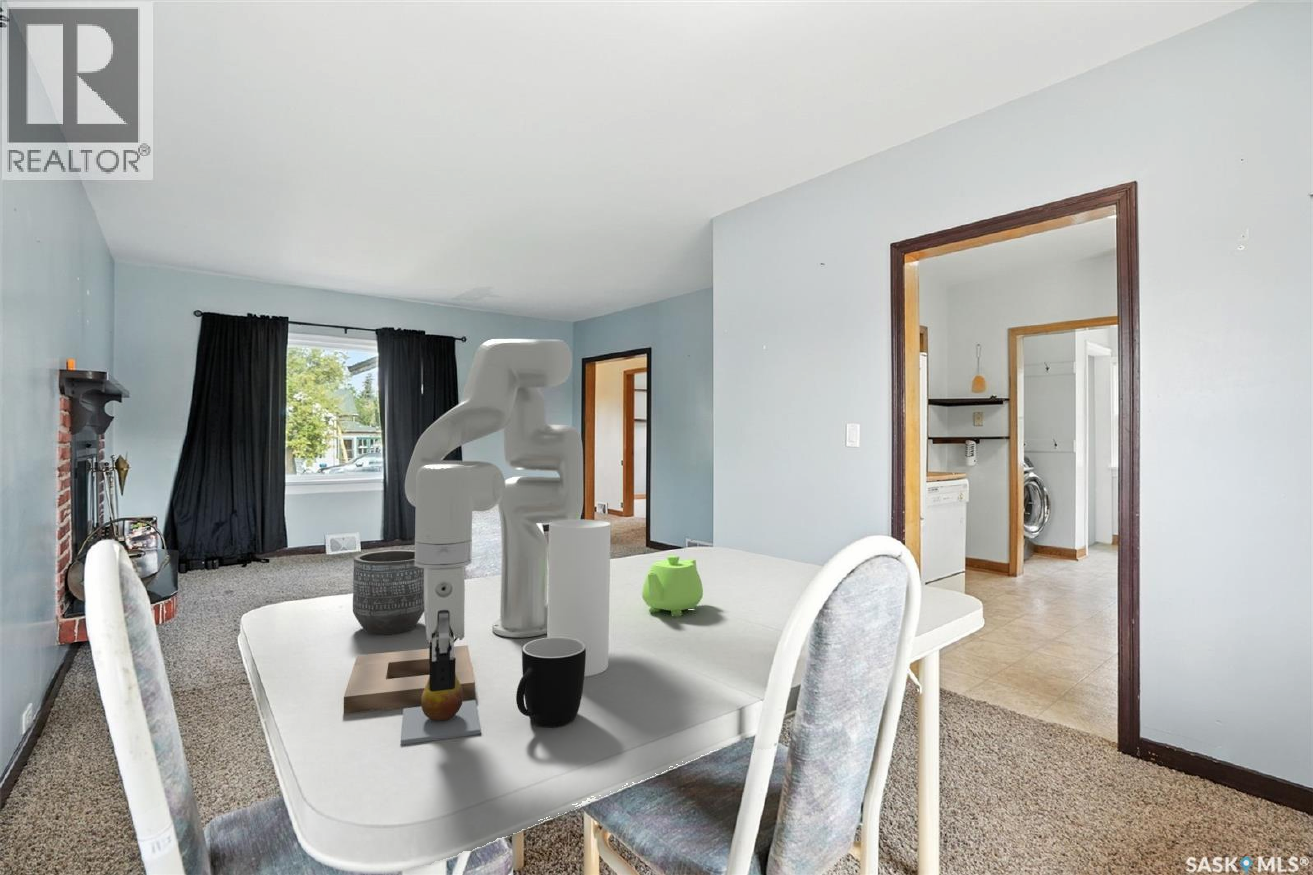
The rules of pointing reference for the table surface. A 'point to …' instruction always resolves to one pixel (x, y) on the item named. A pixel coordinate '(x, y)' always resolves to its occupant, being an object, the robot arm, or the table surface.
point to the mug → (551, 680)
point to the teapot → (672, 586)
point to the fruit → (442, 701)
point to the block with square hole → (399, 679)
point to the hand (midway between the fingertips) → (441, 676)
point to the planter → (387, 591)
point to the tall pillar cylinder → (580, 587)
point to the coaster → (439, 724)
